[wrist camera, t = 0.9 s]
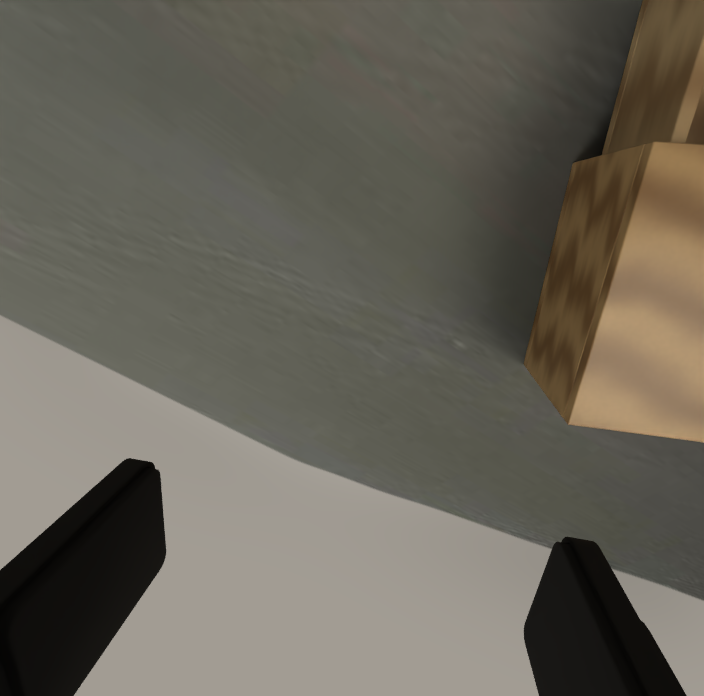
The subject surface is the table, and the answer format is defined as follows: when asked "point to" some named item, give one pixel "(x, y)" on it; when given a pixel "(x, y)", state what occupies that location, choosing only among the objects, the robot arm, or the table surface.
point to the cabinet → (627, 295)
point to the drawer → (662, 78)
